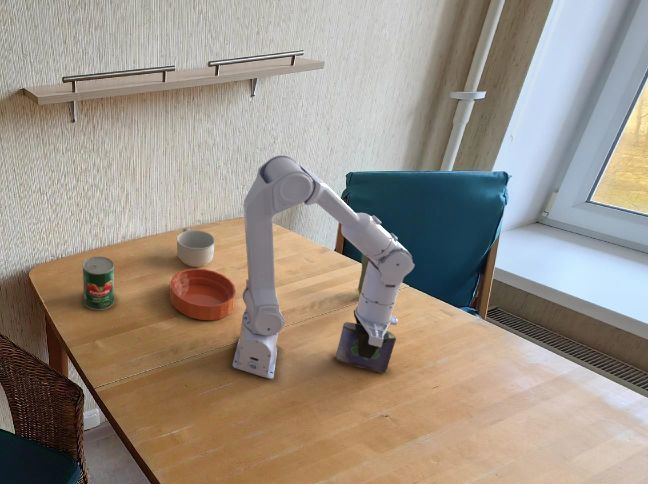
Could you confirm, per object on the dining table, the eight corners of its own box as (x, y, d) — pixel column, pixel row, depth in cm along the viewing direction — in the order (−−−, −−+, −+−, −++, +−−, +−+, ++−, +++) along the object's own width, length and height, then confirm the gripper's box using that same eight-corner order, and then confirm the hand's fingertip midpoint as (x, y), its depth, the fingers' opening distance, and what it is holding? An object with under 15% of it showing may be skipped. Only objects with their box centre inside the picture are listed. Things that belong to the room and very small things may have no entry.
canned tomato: (103, 288, 116) (102, 253, 112) (120, 303, 109) (120, 266, 105) (78, 298, 112) (76, 262, 108) (94, 314, 105) (93, 277, 101)
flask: (335, 361, 90) (345, 320, 86) (335, 352, 92) (344, 311, 88) (387, 375, 86) (400, 332, 82) (385, 365, 89) (397, 323, 85)
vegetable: (374, 304, 107) (393, 234, 99) (355, 302, 107) (372, 232, 100) (368, 294, 111) (385, 225, 103) (349, 292, 111) (365, 224, 104)
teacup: (216, 271, 122) (218, 247, 119) (178, 272, 122) (180, 247, 119) (205, 246, 135) (207, 224, 132) (171, 247, 135) (172, 224, 132)
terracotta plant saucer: (227, 329, 100) (229, 313, 98) (161, 310, 106) (162, 295, 105) (238, 291, 113) (240, 277, 111) (179, 277, 120) (180, 263, 118)
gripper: (409, 324, 75) (391, 382, 80) (397, 281, 87) (382, 333, 92) (362, 313, 78) (348, 370, 83) (357, 273, 90) (345, 324, 95)
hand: (363, 350), depth 88 cm, fingers closed on flask, 3 cm apart
